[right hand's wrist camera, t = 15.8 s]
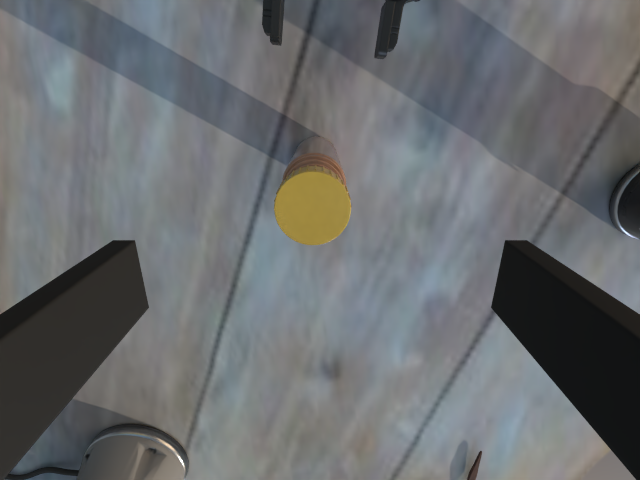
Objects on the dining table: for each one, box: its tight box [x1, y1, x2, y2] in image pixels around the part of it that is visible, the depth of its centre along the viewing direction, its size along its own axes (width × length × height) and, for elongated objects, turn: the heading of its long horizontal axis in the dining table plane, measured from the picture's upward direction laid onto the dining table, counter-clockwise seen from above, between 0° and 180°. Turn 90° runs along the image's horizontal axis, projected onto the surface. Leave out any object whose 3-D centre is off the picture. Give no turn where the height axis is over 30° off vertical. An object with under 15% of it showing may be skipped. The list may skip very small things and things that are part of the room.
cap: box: [274, 165, 351, 245], centre depth 20 cm, size 4×4×2 cm
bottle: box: [282, 136, 346, 186], centre depth 29 cm, size 5×5×20 cm
